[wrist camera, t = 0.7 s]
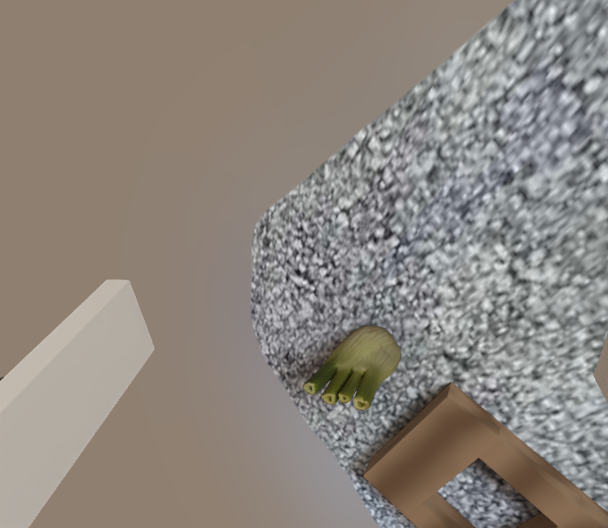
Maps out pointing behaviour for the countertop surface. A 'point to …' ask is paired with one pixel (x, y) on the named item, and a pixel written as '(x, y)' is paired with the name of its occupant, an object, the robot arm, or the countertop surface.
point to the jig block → (460, 454)
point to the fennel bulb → (357, 367)
